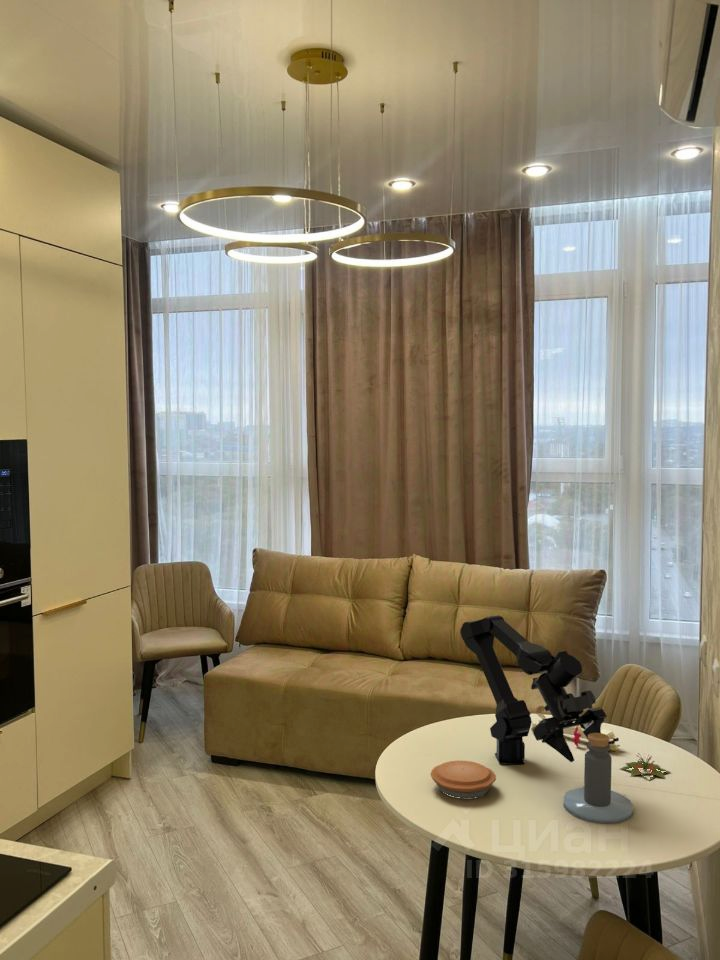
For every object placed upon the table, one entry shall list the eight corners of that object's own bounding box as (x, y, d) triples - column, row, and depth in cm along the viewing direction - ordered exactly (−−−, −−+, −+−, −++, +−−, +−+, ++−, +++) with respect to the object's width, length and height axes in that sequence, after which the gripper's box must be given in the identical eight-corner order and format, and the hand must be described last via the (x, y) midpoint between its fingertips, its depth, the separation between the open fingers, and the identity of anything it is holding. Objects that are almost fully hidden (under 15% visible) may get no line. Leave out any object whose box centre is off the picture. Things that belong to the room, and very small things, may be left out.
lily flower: (680, 775, 199) (680, 757, 199) (650, 787, 193) (651, 768, 193) (639, 759, 209) (640, 742, 209) (610, 770, 203) (610, 752, 202)
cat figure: (527, 739, 227) (609, 755, 209) (525, 708, 227) (607, 722, 209) (546, 730, 234) (626, 745, 217) (544, 700, 234) (624, 713, 217)
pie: (450, 770, 201) (450, 751, 201) (506, 786, 192) (506, 765, 192) (418, 792, 189) (418, 771, 189) (477, 810, 180) (477, 788, 180)
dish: (574, 824, 173) (575, 817, 173) (555, 793, 188) (555, 787, 188) (642, 822, 173) (643, 816, 173) (618, 792, 188) (618, 786, 188)
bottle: (615, 801, 181) (616, 736, 180) (603, 809, 177) (604, 743, 176) (591, 793, 185) (592, 729, 184) (579, 801, 181) (580, 736, 180)
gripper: (542, 685, 182) (575, 749, 173) (601, 674, 191) (636, 734, 182) (519, 708, 190) (550, 771, 181) (577, 697, 199) (610, 755, 189)
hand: (587, 757), depth 183 cm, fingers open, 9 cm apart
